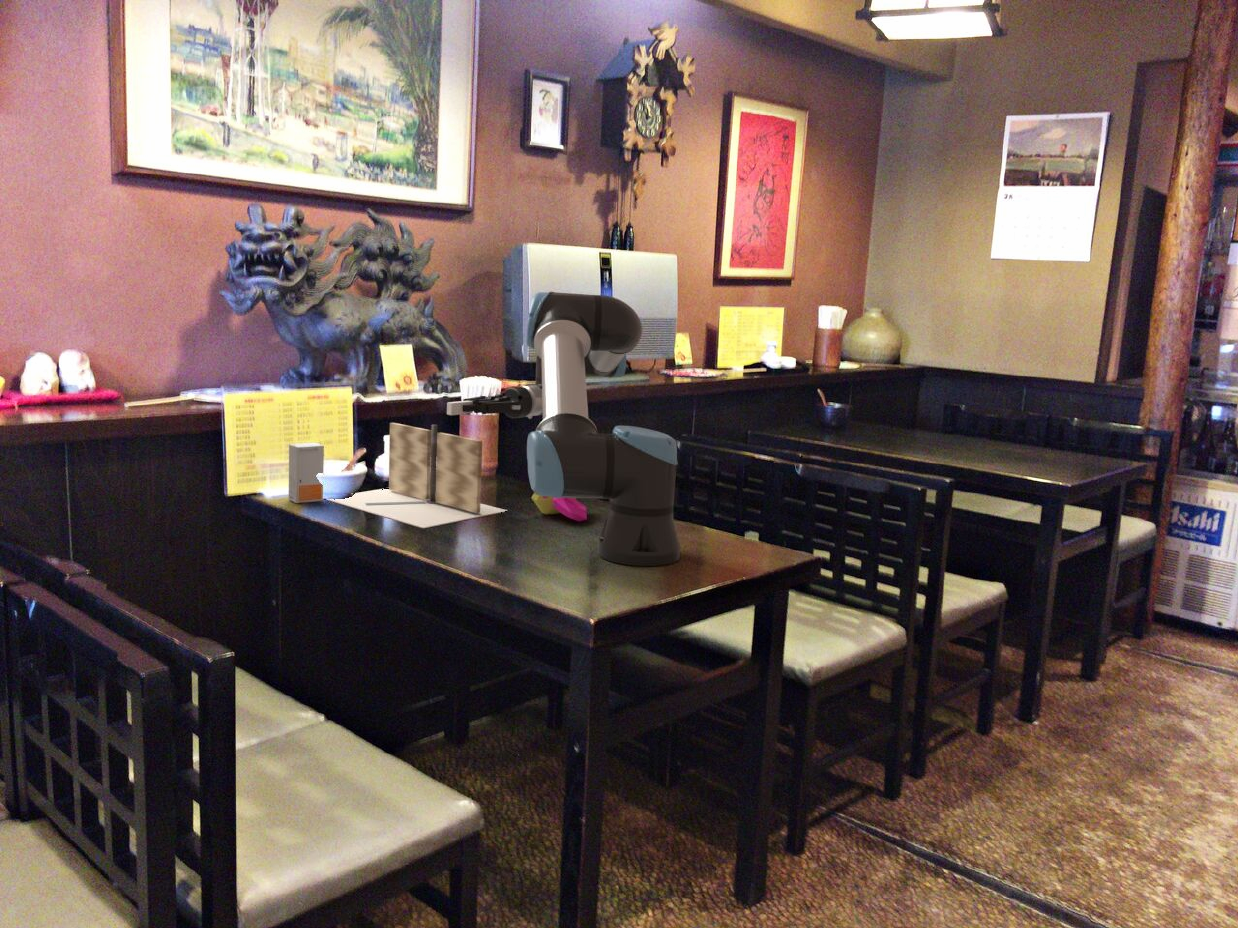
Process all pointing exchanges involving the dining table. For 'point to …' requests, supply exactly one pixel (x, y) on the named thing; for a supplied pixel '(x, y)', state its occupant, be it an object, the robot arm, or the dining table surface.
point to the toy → (561, 506)
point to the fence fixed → (455, 471)
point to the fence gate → (410, 460)
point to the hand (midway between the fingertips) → (449, 408)
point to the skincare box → (305, 472)
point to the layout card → (411, 508)
